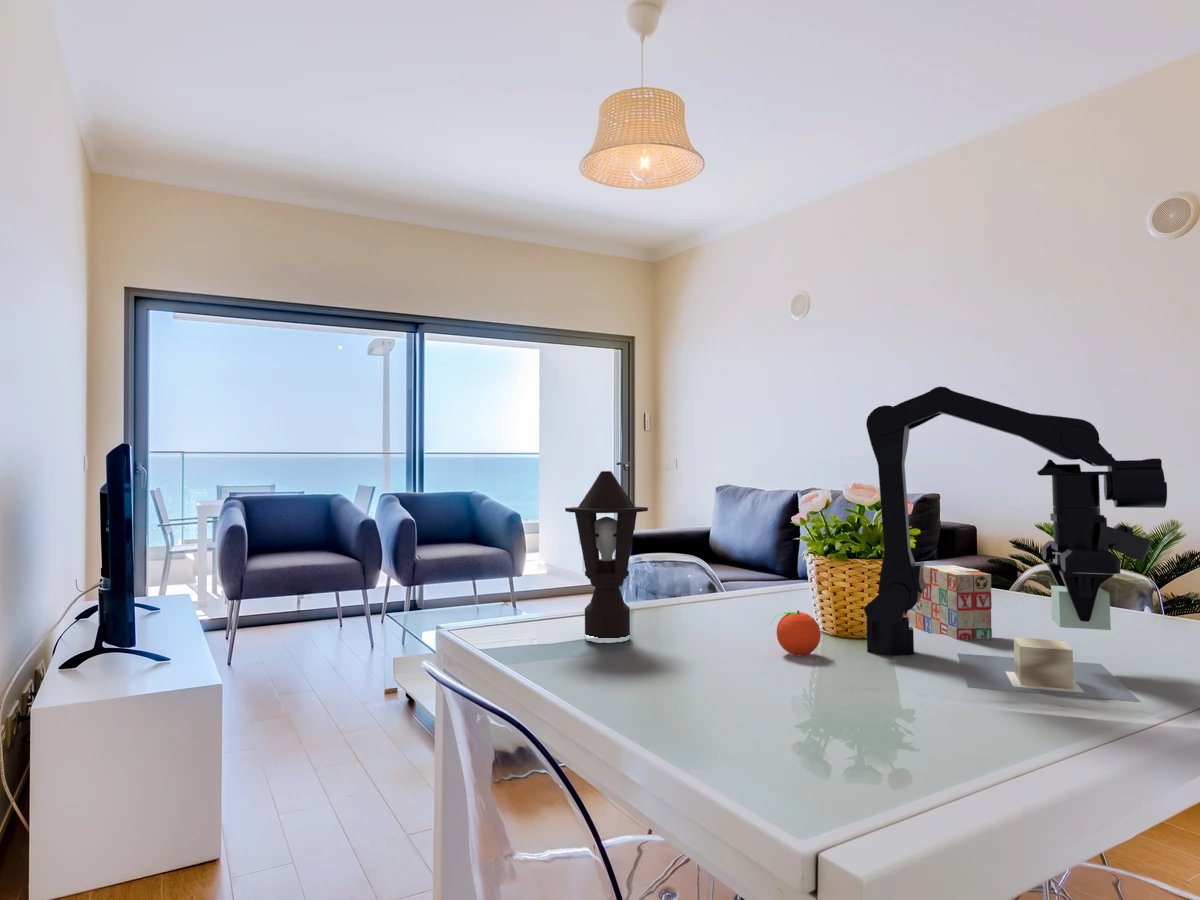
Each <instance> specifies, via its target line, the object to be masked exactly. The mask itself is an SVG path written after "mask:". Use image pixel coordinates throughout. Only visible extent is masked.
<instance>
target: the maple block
mask: <svg viewBox="0 0 1200 900" xmlns="http://www.w3.org/2000/svg"><path fill="white" fill-rule="evenodd" d="M1013 653H1014V654H1013V656H1014V661H1015V675H1016V677H1017V679H1018V681H1019V682H1020V684H1021V685H1029V686H1040V687H1052V688H1064V689H1074V679H1073V662H1074V655H1073V653H1074V650H1073V649H1072V647H1070V645H1068V643H1066V642H1065V640H1057V639H1046V638H1045V639H1043V638H1042V639H1041V638H1029V637H1027V638H1026V637H1013Z"/></svg>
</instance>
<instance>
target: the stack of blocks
mask: <svg viewBox="0 0 1200 900" xmlns="http://www.w3.org/2000/svg"><path fill="white" fill-rule="evenodd" d="M923 578H924V582H925V584H926V586H927V587H926V588H925V590H924V591H923V592H922V595H921V597H920V599H919V600H918V602H917V603H916V605H915V606H914V607H913V608H912V609H910V610H908V611H907V614H906V615H905V616H904V617H909V626H910V627H912V628H915V627H916V629H918V630H920V631H922V632H925V633H927V632H928V633H927V634H933V635H934V634H935V635H945V636H948V637H950V638H952V639H954V640H963V641H964V640H965V641H966V640H993V639H992V638H993V628H992V603H993V602H992V574H991V573H987V572H982V571H981V570H979V569H975V568H967V567H965V566H964V567H961V566H959V565H954V564H945V565H944V564H943V565H942V564H939V565H934V564H933V565H924V572H923Z"/></svg>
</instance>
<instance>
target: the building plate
mask: <svg viewBox="0 0 1200 900" xmlns="http://www.w3.org/2000/svg"><path fill="white" fill-rule="evenodd" d="M957 657H958V661H959V664H960V667H961V670H962V673H963V677H964V680H965V683H966V686H967V688H970V689H971V688H973V689H981V690H982V689H986V690H995V691H1005V692H1008V691H1009V692H1017V693H1018V692H1020V693H1031V694H1041V695H1042V694H1043V695H1053V696H1055V695H1056V696H1065V697H1078V698H1085V699H1086V698H1089V699H1100V700H1110V701H1121V702H1122V701H1123V702H1131V703H1132V702H1133V703H1134V702H1135V703H1142V702H1141V700H1140V699H1138V698H1137V696H1136V695H1134V694H1133V693H1132V692H1131V691H1130V690H1129V689H1128V688H1127V687H1126V686H1125V685H1124V684H1123V683H1122V682H1121V681H1120V680H1119V679H1117V678H1116V677H1115V676H1114V675H1113V674H1112V673H1111V672H1110V671H1109V670H1108V669H1107V668H1106V667H1105V666H1104V665H1103V664H1102V663H1095V662H1083V661H1073V679H1074V689H1064V688H1052V687H1040V686H1029V685H1021V684H1020V682H1019V681H1018V679H1017V677H1016V675H1015V661H1014V657H1011V656H997V655H986V654H985V655H982V654H969V653H957Z"/></svg>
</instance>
